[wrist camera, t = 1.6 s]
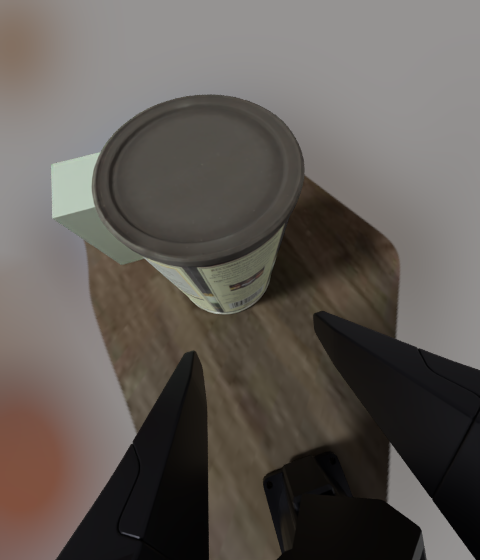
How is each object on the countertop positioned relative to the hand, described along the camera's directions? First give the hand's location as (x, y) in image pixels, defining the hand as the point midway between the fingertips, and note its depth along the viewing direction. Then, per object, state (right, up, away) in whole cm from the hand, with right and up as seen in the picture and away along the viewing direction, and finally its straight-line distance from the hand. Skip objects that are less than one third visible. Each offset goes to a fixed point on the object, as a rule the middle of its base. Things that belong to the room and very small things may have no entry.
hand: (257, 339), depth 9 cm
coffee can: (-2, +4, +15) cm, 15 cm away
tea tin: (-13, +7, +16) cm, 22 cm away
